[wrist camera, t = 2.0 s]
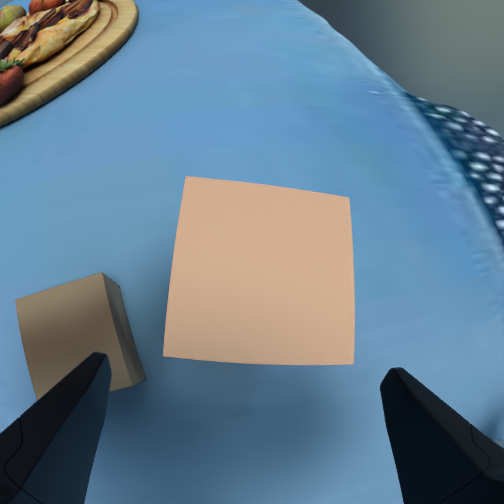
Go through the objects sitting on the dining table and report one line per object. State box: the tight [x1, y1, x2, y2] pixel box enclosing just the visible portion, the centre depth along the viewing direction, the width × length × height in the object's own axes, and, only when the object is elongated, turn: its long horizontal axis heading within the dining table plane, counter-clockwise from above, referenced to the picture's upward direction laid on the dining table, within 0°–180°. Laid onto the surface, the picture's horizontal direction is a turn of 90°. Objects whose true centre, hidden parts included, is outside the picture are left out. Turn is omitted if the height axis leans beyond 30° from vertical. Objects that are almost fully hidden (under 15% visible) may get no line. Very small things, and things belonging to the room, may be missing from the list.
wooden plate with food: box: [0, 0, 139, 126], centre depth 22 cm, size 32×32×8 cm
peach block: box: [163, 176, 355, 365], centre depth 14 cm, size 5×5×12 cm
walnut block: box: [15, 272, 146, 400], centre depth 16 cm, size 6×6×4 cm
